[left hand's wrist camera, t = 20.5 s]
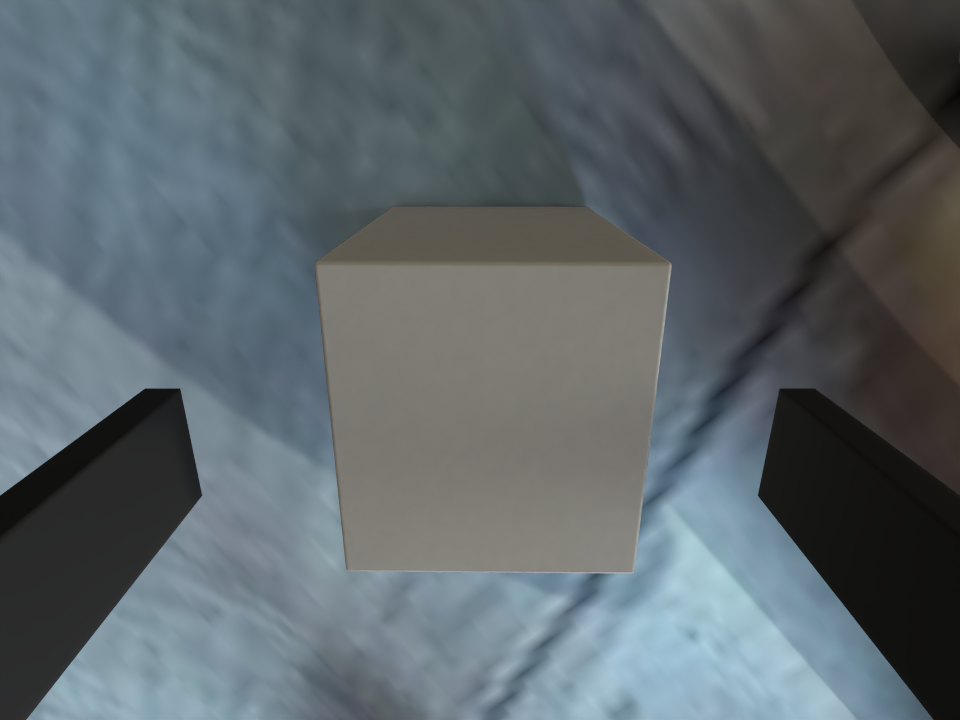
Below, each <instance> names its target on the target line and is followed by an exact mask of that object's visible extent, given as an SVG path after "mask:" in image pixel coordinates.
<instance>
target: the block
mask: <svg viewBox="0 0 960 720" xmlns="http://www.w3.org/2000/svg"><path fill="white" fill-rule="evenodd" d="M671 267H672V266H671V263H670V262H669V261H667V260H666V259H664V258H663V257H661V256H660V255H658V254H657V253H655V252H654V251H652V250H651V249H649V248H648V247H646V246H645V245H643V244H642V243H640V242H639V241H637V240H636V239H634V238H633V237H631V236H630V235H629V234H627V233H626V232H624V231H623V230H621V229H620V228H618V227H617V226H615V225H614V224H612V223H611V222H609V221H608V220H606V219H605V218H603V217H602V216H600V215H599V214H597V213H596V212H594V211H593V210H591V209H590V208H588V207H469V206H393V207H391V208H390V209H389V210H387V211H386V212H384V213H383V214H382V215H380V216H379V217H377V218H376V219H375V220H373V221H372V222H370V223H369V224H368V225H366V226H365V227H363V228H362V229H361V230H359V231H358V232H356V233H355V234H354V235H352V236H351V237H349V238H348V239H347V240H345V241H344V242H342V243H341V244H340V245H338V246H337V247H335V248H334V249H333V250H331V251H330V252H328V253H327V254H326V255H324V256H323V257H321V258H320V259H319V260H317V261H316V262H315V274H316V284H317V294H318V303H319V313H320V322H321V332H322V342H323V351H324V361H325V371H326V380H327V390H328V399H329V409H330V419H331V428H332V438H333V447H334V457H335V467H336V476H337V486H338V496H339V505H340V515H341V524H342V534H343V544H344V553H345V563H346V569H347V570H348V571H397V572H513V573H628V574H631V573H633V572H634V569H635V561H636V553H637V545H638V536H639V528H640V520H641V512H642V504H643V496H644V487H645V479H646V471H647V463H648V455H649V447H650V439H651V430H652V422H653V414H654V406H655V398H656V390H657V381H658V373H659V365H660V357H661V349H662V341H663V332H664V324H665V316H666V308H667V300H668V292H669V284H670V275H671Z"/></svg>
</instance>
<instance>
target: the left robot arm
mask: <svg viewBox="0 0 960 720" xmlns="http://www.w3.org/2000/svg"><path fill="white" fill-rule="evenodd" d="M201 496H202V493H201V488H200V483H199V478H198V473H197V468H196V464H195V459H194V454H193V449H192V444H191V439H190V434H189V429H188V424H187V419H186V415H185V410H184V405H183V400H182V395H181V390H180V389H144V390H143V391H141V392H140V393H139V394H137V395H136V396H135V397H133V398H132V399H131V400H129V401H128V402H126V403H125V404H124V405H122V406H121V407H120V408H118V409H117V410H116V411H114V412H113V413H112V414H110V415H109V416H107V417H106V418H105V419H103V420H102V421H101V422H99V423H98V424H97V425H95V426H94V427H93V428H91V429H90V430H89V431H87V432H86V433H84V434H83V435H82V436H80V437H79V438H78V439H76V440H75V441H74V442H72V443H71V444H70V445H68V446H67V447H65V448H64V449H63V450H61V451H60V452H59V453H57V454H56V455H55V456H53V457H52V458H51V459H49V460H48V461H47V462H45V463H44V464H42V465H41V466H40V467H38V468H37V469H36V470H34V471H33V472H32V473H30V474H29V475H28V476H26V477H25V478H24V479H22V480H21V481H19V482H18V483H17V484H15V485H14V486H13V487H11V488H10V489H9V490H7V491H6V492H5V493H3V494H2V495H0V720H26V719H27V718H28V717H29V716H30V714H31V713H32V712H33V710H34V709H35V708H36V707H37V705H38V704H39V703H40V701H41V700H42V699H43V698H44V696H45V695H46V694H47V693H48V691H49V690H50V689H51V687H52V686H53V685H54V684H55V682H56V681H57V680H58V679H59V677H60V676H61V675H62V673H63V672H64V671H65V670H66V668H67V667H68V666H69V665H70V663H71V662H72V661H73V659H74V658H75V657H76V656H77V654H78V653H79V652H80V651H81V649H82V648H83V647H84V645H85V644H86V643H87V642H88V640H89V639H90V638H91V637H92V635H93V634H94V633H95V631H96V630H97V629H98V628H99V626H100V625H101V624H102V622H103V621H104V620H105V619H106V617H107V616H108V615H109V614H110V612H111V611H112V610H113V608H114V607H115V606H116V605H117V603H118V602H119V601H120V600H121V598H122V597H123V596H124V594H125V593H126V592H127V591H128V589H129V588H130V587H131V586H132V584H133V583H134V582H135V580H136V579H137V578H138V577H139V575H140V574H141V573H142V572H143V570H144V569H145V568H146V566H147V565H148V564H149V563H150V561H151V560H152V559H153V557H154V556H155V555H156V554H157V552H158V551H159V550H160V549H161V547H162V546H163V545H164V543H165V542H166V541H167V540H168V538H169V537H170V536H171V535H172V533H173V532H174V531H175V529H176V528H177V527H178V526H179V524H180V523H181V522H182V521H183V519H184V518H185V517H186V515H187V514H188V513H189V512H190V510H191V509H192V508H193V507H194V505H195V504H196V503H197V501H198V500H199V499H200V498H201ZM758 496H759V498H760V499H761V500H762V501H763V503H764V504H765V505H766V507H767V508H768V509H769V510H770V512H771V513H772V514H773V515H774V517H775V518H776V519H777V521H778V522H779V523H780V524H781V526H782V527H783V528H784V529H785V531H786V532H787V533H788V535H789V536H790V537H791V538H792V540H793V541H794V542H795V543H796V545H797V546H798V547H799V549H800V550H801V551H802V552H803V554H804V555H805V556H806V557H807V559H808V560H809V561H810V563H811V564H812V565H813V566H814V568H815V569H816V570H817V572H818V573H819V574H820V575H821V577H822V578H823V579H824V580H825V582H826V583H827V584H828V586H829V587H830V588H831V589H832V591H833V592H834V593H835V594H836V596H837V597H838V598H839V600H840V601H841V602H842V603H843V605H844V606H845V607H846V608H847V610H848V611H849V612H850V614H851V615H852V616H853V617H854V619H855V620H856V621H857V622H858V624H859V625H860V626H861V628H862V629H863V630H864V631H865V633H866V634H867V635H868V637H869V638H870V639H871V640H872V642H873V643H874V644H875V645H876V647H877V648H878V649H879V651H880V652H881V653H882V654H883V656H884V657H885V658H886V659H887V661H888V662H889V663H890V665H891V666H892V667H893V668H894V670H895V671H896V672H897V673H898V675H899V676H900V677H901V679H902V680H903V681H904V682H905V684H906V685H907V686H908V687H909V689H910V690H911V691H912V693H913V694H914V695H915V696H916V698H917V699H918V700H919V701H920V703H921V704H922V705H923V707H924V708H925V709H926V710H927V712H928V713H929V714H930V716H931V717H932V718H933V719H934V720H960V495H958V494H957V493H955V492H954V491H953V490H951V489H950V488H949V487H947V486H946V485H945V484H943V483H942V482H941V481H939V480H938V479H936V478H935V477H934V476H932V475H931V474H930V473H928V472H927V471H926V470H924V469H923V468H922V467H920V466H919V465H918V464H916V463H915V462H913V461H912V460H911V459H909V458H908V457H907V456H905V455H904V454H903V453H901V452H900V451H899V450H897V449H896V448H894V447H893V446H892V445H890V444H889V443H888V442H886V441H885V440H884V439H882V438H881V437H880V436H878V435H877V434H876V433H874V432H873V431H871V430H870V429H869V428H867V427H866V426H865V425H863V424H862V423H861V422H859V421H858V420H857V419H855V418H854V417H853V416H851V415H850V414H848V413H847V412H846V411H844V410H843V409H842V408H840V407H839V406H838V405H836V404H835V403H834V402H832V401H831V400H829V399H828V398H827V397H825V396H824V395H823V394H821V393H820V392H819V391H817V390H816V389H780V390H779V395H778V400H777V405H776V410H775V415H774V419H773V424H772V429H771V434H770V439H769V444H768V449H767V454H766V459H765V464H764V468H763V473H762V478H761V483H760V488H759V493H758Z"/></svg>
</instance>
